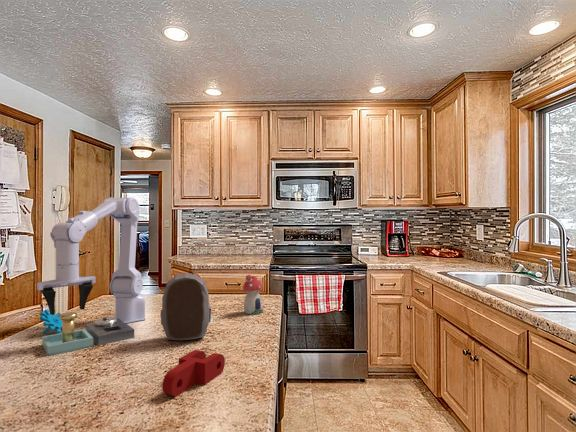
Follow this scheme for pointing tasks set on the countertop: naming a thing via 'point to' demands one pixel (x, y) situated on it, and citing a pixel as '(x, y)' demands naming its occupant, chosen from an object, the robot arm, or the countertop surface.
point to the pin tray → (55, 345)
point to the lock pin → (67, 326)
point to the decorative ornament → (252, 295)
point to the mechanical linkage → (193, 372)
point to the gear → (51, 321)
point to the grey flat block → (109, 330)
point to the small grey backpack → (185, 308)
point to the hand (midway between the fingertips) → (67, 311)
